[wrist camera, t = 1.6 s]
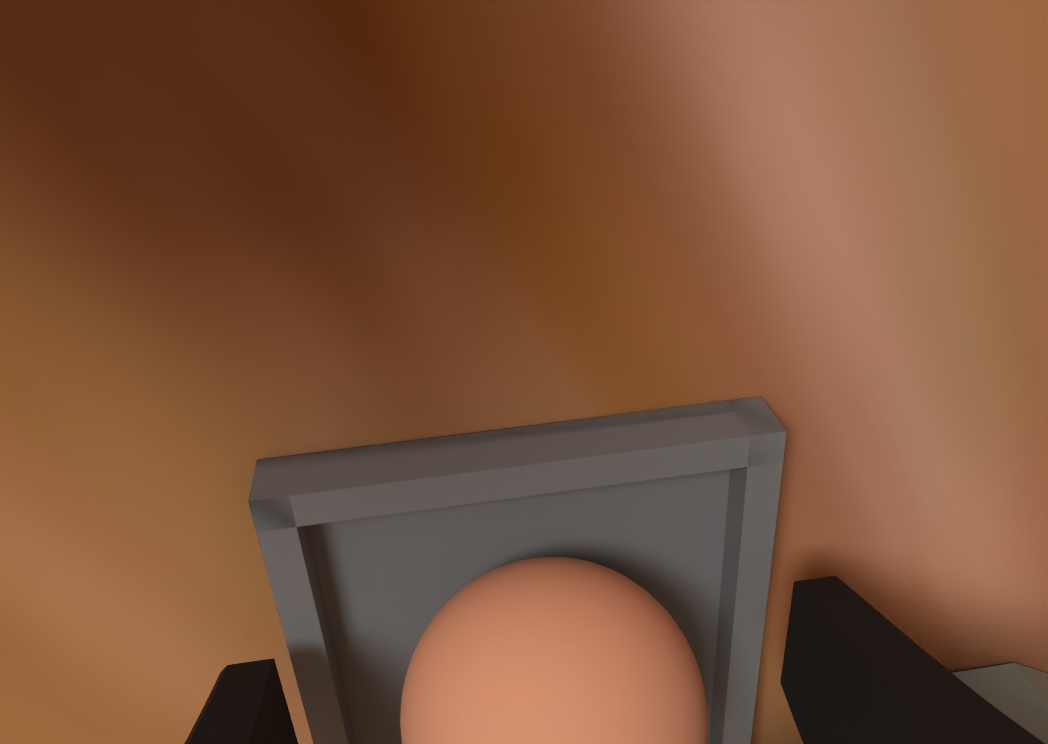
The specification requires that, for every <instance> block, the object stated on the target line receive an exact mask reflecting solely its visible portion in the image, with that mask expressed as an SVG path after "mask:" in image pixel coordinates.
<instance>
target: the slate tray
mask: <svg viewBox="0 0 1048 744" xmlns="http://www.w3.org/2000/svg"><path fill="white" fill-rule="evenodd" d="M786 434H787V431H786V430H785V428H784V427H783V426H782V424H781V423H780V421H779V420H778V419H777V417H776V416H775V415H774V413H773V412H772V411H771V409H770V408H769V407H768V405H767V404H766V403H765V401H764V400H763V398H762V397H754V398H746V399H738V400H730V401H723V402H715V403H707V404H699V405H691V406H683V407H675V408H667V409H659V410H651V411H643V412H635V413H627V414H619V415H611V416H603V417H595V418H587V419H579V420H571V421H563V422H555V423H547V424H539V425H531V426H523V427H515V428H507V429H499V430H491V431H483V432H475V433H467V434H459V435H451V436H443V437H435V438H427V439H419V440H411V441H403V442H395V443H387V444H379V445H371V446H363V447H355V448H347V449H339V450H331V451H323V452H315V453H307V454H299V455H291V456H283V457H275V458H267V459H259V460H257V463H256V468H255V472H254V477H253V482H252V486H251V491H250V496H249V500H248V502H249V506H250V509H251V513H252V517H253V521H254V524H255V528H256V532H257V535H258V539H259V543H260V547H261V550H262V554H263V558H264V561H265V565H266V569H267V573H268V576H269V580H270V584H271V587H272V591H273V595H274V599H275V602H276V606H277V610H278V613H279V617H280V621H281V624H282V628H283V632H284V636H285V639H286V643H287V647H288V650H289V654H290V658H291V662H292V665H293V669H294V673H295V676H296V680H297V684H298V688H299V691H300V695H301V699H302V702H303V706H304V710H305V714H306V717H307V721H308V725H309V728H310V732H311V736H312V740H313V743H314V744H402V738H401V728H400V713H401V700H402V691H403V686H404V682H405V677H406V674H407V670H408V667H409V663H410V661H411V658H412V656H413V653H414V651H415V648H416V646H417V644H418V642H419V640H420V638H421V636H422V634H423V633H424V631H425V630H426V628H427V627H428V625H429V624H430V622H431V621H432V619H433V618H434V616H435V615H436V613H437V612H438V611H439V610H440V609H441V608H442V607H443V606H444V605H445V603H446V602H447V601H448V600H449V599H450V598H452V597H453V596H454V595H455V594H456V593H457V592H458V591H459V590H461V589H462V588H463V587H464V586H465V585H467V584H468V583H470V582H471V581H473V580H474V579H476V578H477V577H479V576H481V575H483V574H485V573H487V572H489V571H491V570H493V569H496V568H498V567H500V566H503V565H505V564H509V563H512V562H515V561H519V560H524V559H529V558H538V557H568V558H576V559H581V560H585V561H590V562H593V563H596V564H598V565H601V566H604V567H607V568H609V569H612V570H614V571H616V572H618V573H620V574H622V575H624V576H626V577H627V578H629V579H630V580H632V581H633V582H635V583H636V584H638V585H639V586H641V587H642V588H643V589H645V590H646V591H647V592H648V593H649V594H650V595H652V596H653V597H654V598H655V599H656V600H657V601H658V602H659V603H660V604H661V605H662V606H663V607H664V608H665V609H666V610H667V611H668V613H669V614H670V616H671V617H672V618H673V620H674V621H675V623H676V624H677V625H678V627H679V628H680V630H681V631H682V633H683V634H684V636H685V638H686V640H687V642H688V644H689V646H690V648H691V650H692V652H693V654H694V657H695V659H696V661H697V664H698V667H699V670H700V673H701V677H702V680H703V685H704V689H705V695H706V702H707V709H708V740H707V744H751V736H752V728H753V719H754V711H755V702H756V693H757V685H758V676H759V667H760V659H761V650H762V642H763V633H764V624H765V616H766V607H767V598H768V590H769V581H770V572H771V564H772V555H773V547H774V538H775V529H776V521H777V512H778V503H779V495H780V486H781V478H782V469H783V460H784V452H785V443H786Z"/></svg>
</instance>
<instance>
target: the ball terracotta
mask: <svg viewBox="0 0 1048 744" xmlns="http://www.w3.org/2000/svg"><path fill="white" fill-rule="evenodd" d="M400 728H401V738H402V744H707V740H708V709H707V702H706V695H705V689H704V685H703V680H702V677H701V673H700V670H699V667H698V664H697V661H696V659H695V657H694V654H693V652H692V650H691V648H690V646H689V644H688V642H687V640H686V638H685V636H684V634H683V633H682V631H681V630H680V628H679V627H678V625H677V624H676V623H675V621H674V620H673V618H672V617H671V616H670V614H669V613H668V611H667V610H666V609H665V608H664V607H663V606H662V605H661V604H660V603H659V602H658V601H657V600H656V599H655V598H654V597H653V596H652V595H650V594H649V593H648V592H647V591H646V590H645V589H643V588H642V587H641V586H639V585H638V584H636V583H635V582H633V581H632V580H630V579H629V578H627V577H626V576H624V575H622V574H620V573H618V572H616V571H614V570H612V569H609V568H607V567H604V566H601V565H598V564H596V563H593V562H590V561H585V560H581V559H576V558H568V557H538V558H529V559H524V560H519V561H515V562H512V563H509V564H505V565H503V566H500V567H498V568H496V569H493V570H491V571H489V572H487V573H485V574H483V575H481V576H479V577H477V578H476V579H474V580H473V581H471V582H470V583H468V584H467V585H465V586H464V587H463V588H462V589H461V590H459V591H458V592H457V593H456V594H455V595H454V596H453V597H452V598H450V599H449V600H448V601H447V602H446V603H445V605H444V606H443V607H442V608H441V609H440V610H439V611H438V612H437V613H436V615H435V616H434V618H433V619H432V621H431V622H430V624H429V625H428V627H427V628H426V630H425V631H424V633H423V634H422V636H421V638H420V640H419V642H418V644H417V646H416V648H415V651H414V653H413V656H412V658H411V661H410V663H409V667H408V670H407V674H406V677H405V682H404V686H403V691H402V700H401V713H400Z"/></svg>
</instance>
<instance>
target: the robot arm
mask: <svg viewBox="0 0 1048 744" xmlns="http://www.w3.org/2000/svg"><path fill="white" fill-rule="evenodd" d="M781 685H782V688H783V690H784V693H785V696H786V699H787V701H788V704H789V707H790V710H791V712H792V715H793V718H794V720H795V723H796V726H797V728H798V731H799V733H800V736H801V738H802V741H803V743H804V744H1045V743H1043V742H1042V741H1041V740H1039V739H1038V738H1037V737H1035V736H1034V735H1032V734H1031V733H1030V732H1028V731H1027V730H1026V729H1024V728H1023V727H1021V726H1020V725H1019V724H1017V723H1016V722H1015V721H1013V720H1012V719H1010V718H1009V717H1008V716H1006V715H1005V714H1004V713H1002V712H1001V711H1000V710H998V709H997V708H996V707H994V706H993V705H992V704H990V703H989V702H988V701H986V700H985V699H984V698H983V697H981V696H980V695H979V694H978V693H976V692H975V691H974V690H973V689H971V688H970V687H969V686H968V685H966V684H965V683H964V682H962V681H961V680H960V679H959V678H957V677H956V676H955V675H954V674H952V673H951V672H950V671H949V670H947V669H946V668H945V667H944V666H942V665H941V664H940V663H939V662H937V661H936V660H935V659H934V658H933V657H931V656H930V655H929V654H928V653H927V652H925V651H924V650H923V649H922V648H920V647H919V646H918V645H917V644H916V643H915V642H913V641H912V640H911V639H910V638H909V637H907V636H906V635H905V634H904V633H903V632H901V631H900V630H899V629H898V628H897V627H895V626H894V625H893V624H892V623H891V622H890V621H888V620H887V619H886V618H885V617H884V616H883V615H881V614H880V613H879V612H878V611H877V610H876V609H874V608H873V607H872V606H871V605H870V604H868V603H867V602H866V601H865V600H864V599H863V598H861V597H860V596H859V595H858V594H857V593H856V592H854V591H853V590H852V589H851V588H850V587H848V586H847V585H846V584H845V583H844V582H842V581H841V580H840V579H839V578H838V577H836V576H830V577H823V578H817V579H810V580H803V581H796V582H794V586H793V594H792V601H791V609H790V616H789V623H788V631H787V638H786V646H785V653H784V660H783V668H782V675H781ZM185 744H298V742H297V738H296V735H295V731H294V728H293V724H292V720H291V717H290V713H289V710H288V706H287V703H286V699H285V696H284V692H283V689H282V685H281V682H280V678H279V675H278V671H277V668H276V664H275V660H274V658H273V659H266V660H260V661H253V662H246V663H239V664H233V665H227V666H226V667H225V668H224V669H223V670H222V672H221V673H220V675H219V677H218V679H217V681H216V683H215V685H214V687H213V689H212V691H211V693H210V695H209V697H208V699H207V701H206V703H205V705H204V707H203V709H202V711H201V713H200V715H199V717H198V719H197V721H196V723H195V725H194V727H193V729H192V731H191V733H190V734H189V736H188V738H187V740H186V742H185Z"/></svg>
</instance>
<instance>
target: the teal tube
mask: <svg viewBox="0 0 1048 744" xmlns="http://www.w3.org/2000/svg"><path fill="white" fill-rule="evenodd" d="M952 674H954V675H955V676H956V677H957V678H959V679H960V680H961V681H962V682H964V683H965V684H966V685H968V686H969V687H970V688H971V689H973V690H974V691H975V692H976V693H978V694H979V695H980V696H981V697H983V698H984V699H985V700H986V701H988V702H989V703H990V704H992V705H993V706H994V707H996V708H997V709H998V710H1000V711H1001V712H1002V713H1004V714H1005V715H1006V716H1008V717H1009V718H1010V719H1012V720H1013V721H1015V722H1016V723H1017V724H1019V725H1020V726H1021V727H1023V728H1024V729H1026V730H1027V731H1028V732H1030V733H1031V734H1032V735H1034V736H1035V737H1037V738H1038V739H1039V740H1041V741H1042V742H1043V743H1045V744H1048V673H1045V672H1042V671H1039V670H1036V669H1033V668H1029V667H1026V666H1023V665H1020V664H1017V663H1009V664H1003V665H997V666H991V667H984V668H978V669H972V670H966V671H959V672H953V673H952Z"/></svg>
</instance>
